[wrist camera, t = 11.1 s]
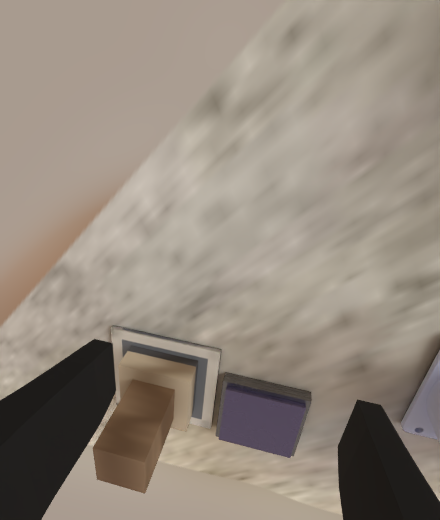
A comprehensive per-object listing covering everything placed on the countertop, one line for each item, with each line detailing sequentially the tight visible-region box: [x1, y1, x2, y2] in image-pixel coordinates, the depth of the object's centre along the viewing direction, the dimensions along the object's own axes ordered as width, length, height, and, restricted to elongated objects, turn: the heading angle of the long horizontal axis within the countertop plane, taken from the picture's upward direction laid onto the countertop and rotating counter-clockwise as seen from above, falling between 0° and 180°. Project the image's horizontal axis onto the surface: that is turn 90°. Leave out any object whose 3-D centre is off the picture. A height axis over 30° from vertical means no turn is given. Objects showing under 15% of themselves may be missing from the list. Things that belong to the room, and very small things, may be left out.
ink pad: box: [216, 372, 311, 458], centre depth 24 cm, size 6×6×1 cm
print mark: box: [111, 326, 221, 429], centre depth 25 cm, size 8×8×1 cm
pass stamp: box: [93, 345, 198, 493], centre depth 22 cm, size 5×5×7 cm
